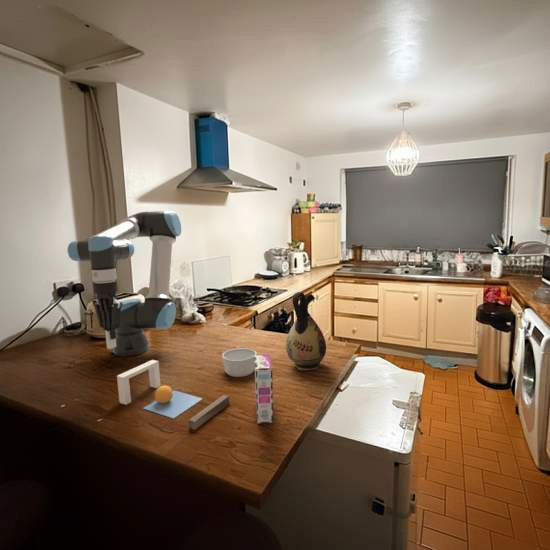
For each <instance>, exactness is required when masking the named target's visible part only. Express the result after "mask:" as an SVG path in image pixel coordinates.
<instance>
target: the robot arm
mask: <svg viewBox="0 0 550 550" xmlns="http://www.w3.org/2000/svg"><path fill="white" fill-rule="evenodd" d="M181 233H182V224H181V220H180V217H179V216H178V214H177V212H175V211H173V210H159V211H158V210H156V211H154V210H153V211H140V212H138V213H135V214H132V215H129V216H127V217H125V218H123V219H121V220H120V221H119V223H118V224H116V225H114V226H112V227H109V228H107V229H105V230H104V231H101V232H99V233H96V234H95V235H92V236H90V237H88V238H85V239H84V240H78V239H77V240H74V241H71V242H70V243H69V244H68V245H67V253H68V257H69V258H70V259H71V260H72V261H75V262H90V267H91V268H90V269H91V277H92V282H93V283H92V290H93V291H92V292H93V293H94V294H95V295H96V299H93V300H92V305H93V306H94V310H95V313H96V317H97V321H98V325H99V327H100V328H101V329H102V328H103V330H104V336H105V341H106V349H109V350H111V349H112V352H113V353H114V354H115V356H116V355H117V356H118V357H130V356H136V355H140V354H143V353H145V352H147V351H148V350H149V349H150V344H149V341H148V338H147V336H146V334H145V333H144V332H145V331H144V330H167V329H170V327H172V325H173V324H174V322H175V320H176V315H177V309H176V308H177V306H176V304H175V303H174V302H173V300H172V297H171V296H170V283H171V282H170V279H171V266H172V251H173V250H172V249H173V244H174V243H175V242H176V239H177V237H179V236H181ZM141 237H142V238H144V237H145V238H146V237H147V238H148V239H149V240H150V242H152V248H151V259H150V273H149V283H148V284H149V285H148V294H147V295H146V296H145V297H144V302H142V300H141V298H131V299H127V300H122V301H119V300H118V298H117V295H116V293H117V292H118V291H119V289H118V288H119V287H118V286H119V285H118V281H117V279H118V277H117V276H118V275H117V269H116V268H117V267H116V262H120V261H126V260H128V259H130V258H132V257H133V256H134V254H135V245H134V244H133V243H132V241H130V240H134V239H136V238H141ZM114 354H113V355H114Z"/></svg>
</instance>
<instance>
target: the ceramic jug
mask: <svg viewBox="0 0 550 550" xmlns="http://www.w3.org/2000/svg"><path fill="white" fill-rule="evenodd" d="M314 300H315V295H313V294H311V293H308V294H304V293H303V292H300V291H298V292H295V293H294V294H293V295H292V305H293V310H294V312H295V317H296V318H295V319H296V320H295V321H294V323H293V324H292V326H291V328H290V330H289V331H288V334H287V337H286V342H285V343H286V345H285V349H286V353H287V356H288V357H289V359H290V360H291V362H292V363H294V366H295V367H296V369H297V370H299V371H314V370H317V369H319V368H320V367H321V365H320V363H321V362H322V360H324V358H325V356H326V352H327V343H326V338H325V336H324V334H323V331H322V329H321V328H320V326H319V325H318V323H317V322H316V321H315V320H314V318H313V317H312V316H311V314H310V313H309V310H308V309H309V305H310V304H311V303H312V302H313V301H314Z"/></svg>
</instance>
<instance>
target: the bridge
mask: <svg viewBox="0 0 550 550" xmlns="http://www.w3.org/2000/svg"><path fill="white" fill-rule="evenodd" d="M159 362H160V361H159V360H155V359H150V360H148V361H146V362H145V363H142V364H140V365H138V366H136V367H133V368H130V369H129V370H127V371H124V372H122V373H120V374H118V375H116V379H117V382H116V383H117V391H118V400H119V404H122V405H124V406H125V405H126V406H127V405H128V404H130V403H132V397H131V386H130V379H131V378H133V377H135V376H138V375H139V374H141V373H145V372H146V371H148V378H149V387H150V388H154V389H158V388H159V387H161V386H162V384H161V375H160V364H159Z"/></svg>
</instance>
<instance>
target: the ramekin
mask: <svg viewBox="0 0 550 550" xmlns="http://www.w3.org/2000/svg"><path fill="white" fill-rule="evenodd" d="M255 355H258V352H257V351H256V350H254V349H251V348H246V347H244V348H243V347H242V348H241V347H237V348H233V349H227V350H226V351H224V352H223V353H222V354H221V356H222V357H221V359H222V362H223V368H224V371H225V374H227V375H228V376H230V377H236V378H239V377H240V378H241V377H246V376H249V375H251V374H253V373H254V372H255Z"/></svg>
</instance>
